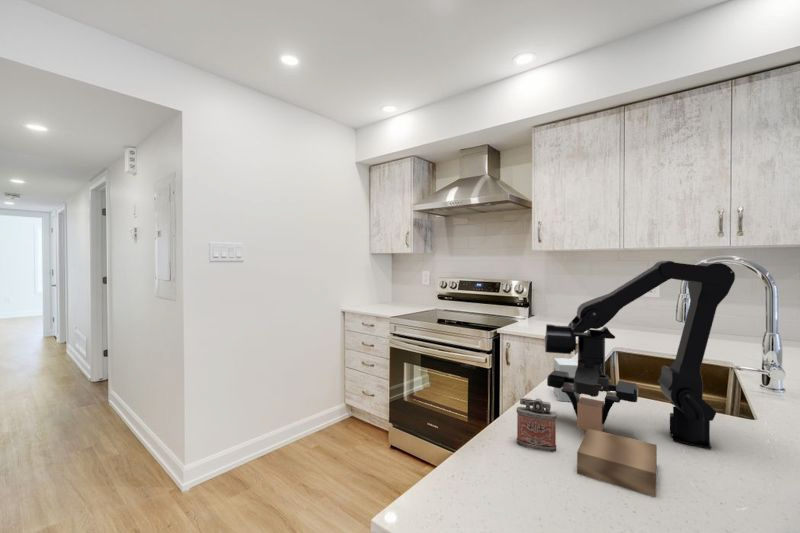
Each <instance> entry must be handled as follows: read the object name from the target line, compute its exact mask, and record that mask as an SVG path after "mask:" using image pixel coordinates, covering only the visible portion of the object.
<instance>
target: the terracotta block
mask: <svg viewBox="0 0 800 533" xmlns="http://www.w3.org/2000/svg"><path fill="white" fill-rule="evenodd" d="M604 403H605V400H604V401H603V400H599V399H594V398H590V397H589V398H588V397H585V396H580V400H579V401H578V403H577V416H576V419H577V421H576V422H577V423H576V425H577V427H576V428H577V430H583V431H587V429H593V430H597V431H601V432H603V430H604V427H605V424H602V416H603V410H604Z"/></svg>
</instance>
